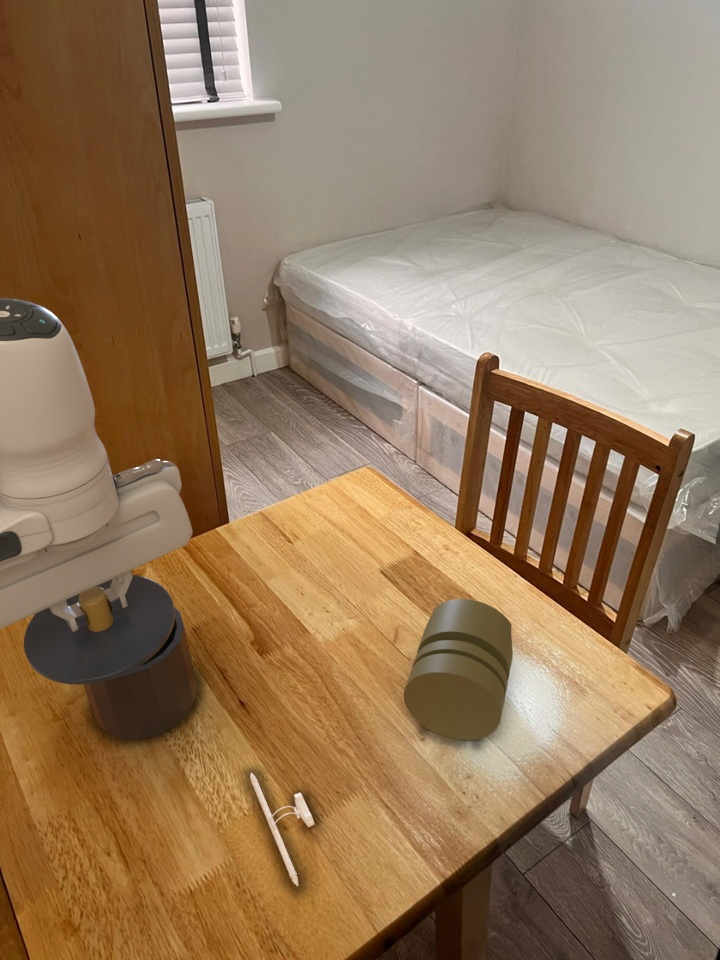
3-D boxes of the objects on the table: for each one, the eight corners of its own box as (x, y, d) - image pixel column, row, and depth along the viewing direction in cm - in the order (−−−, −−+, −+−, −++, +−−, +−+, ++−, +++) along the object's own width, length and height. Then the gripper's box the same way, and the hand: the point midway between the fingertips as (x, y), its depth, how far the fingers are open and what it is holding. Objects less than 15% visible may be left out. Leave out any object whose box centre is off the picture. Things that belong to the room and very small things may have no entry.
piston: (510, 672, 95) (520, 609, 88) (496, 749, 85) (505, 686, 79) (425, 653, 98) (429, 591, 91) (402, 725, 88) (404, 662, 82)
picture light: (248, 776, 83) (246, 765, 82) (283, 760, 85) (282, 749, 83) (294, 889, 73) (293, 878, 72) (334, 869, 74) (333, 858, 73)
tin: (101, 754, 86) (77, 690, 79) (90, 676, 95) (68, 614, 89) (206, 718, 90) (192, 655, 83) (185, 647, 99) (171, 585, 93)
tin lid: (30, 710, 62) (14, 673, 59) (24, 605, 72) (10, 570, 70) (189, 659, 66) (181, 623, 63) (162, 568, 76) (153, 533, 74)
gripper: (159, 438, 67) (183, 552, 75) (-82, 526, 57) (-25, 647, 65) (191, 467, 63) (213, 585, 71) (-63, 568, 53) (-5, 692, 61)
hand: (97, 615), depth 68 cm, fingers closed on tin lid, 2 cm apart
